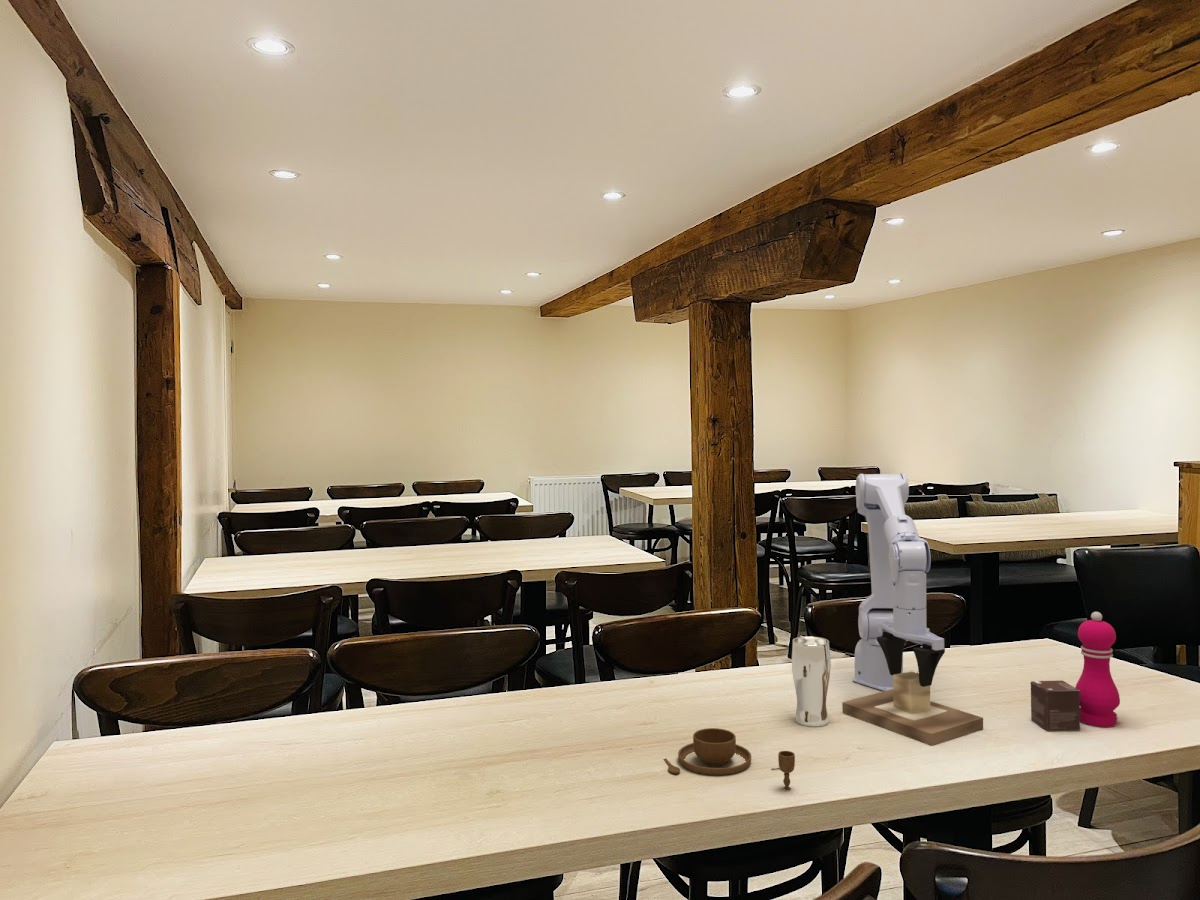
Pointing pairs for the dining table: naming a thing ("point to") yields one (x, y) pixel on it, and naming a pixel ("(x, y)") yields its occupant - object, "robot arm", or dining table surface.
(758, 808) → the dining table surface
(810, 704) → the beer glass
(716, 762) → the place setting
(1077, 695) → the box
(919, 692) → the maple block
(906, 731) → the walnut board
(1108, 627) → the pepper mill
